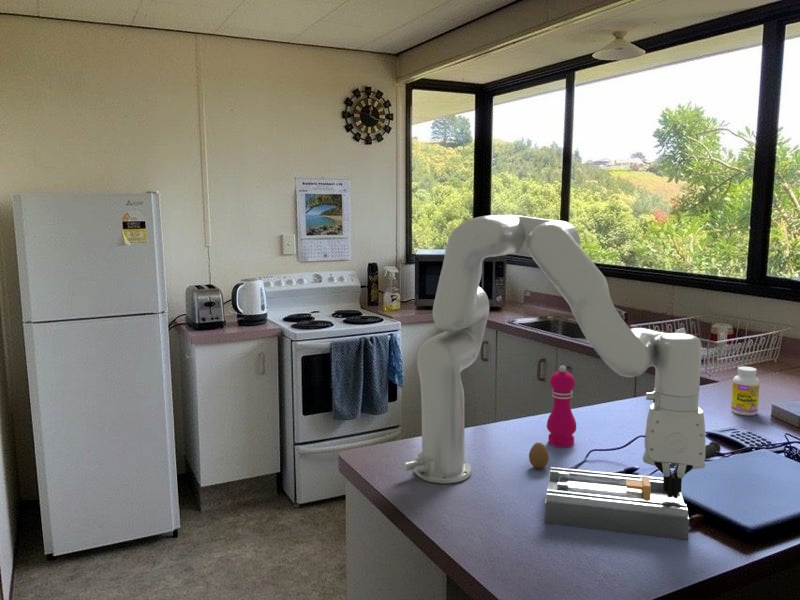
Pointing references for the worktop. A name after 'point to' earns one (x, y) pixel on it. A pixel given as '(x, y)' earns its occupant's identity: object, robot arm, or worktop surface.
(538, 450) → the egg
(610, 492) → the light grey bar
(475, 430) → the worktop surface
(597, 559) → the worktop surface
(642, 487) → the latch
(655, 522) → the grey ridged tray
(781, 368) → the worktop surface
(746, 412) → the supplement bottle
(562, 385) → the pepper mill
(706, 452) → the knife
